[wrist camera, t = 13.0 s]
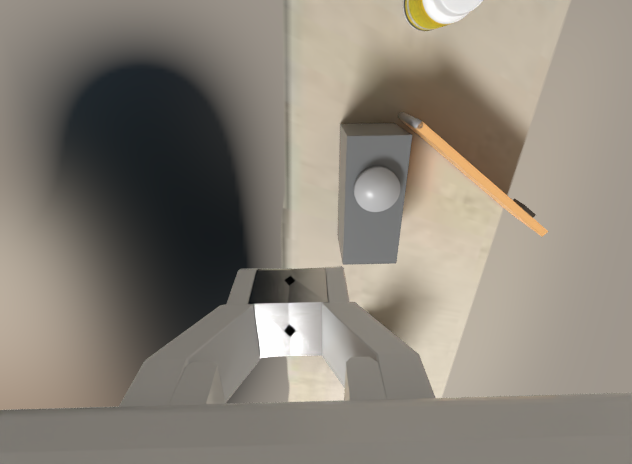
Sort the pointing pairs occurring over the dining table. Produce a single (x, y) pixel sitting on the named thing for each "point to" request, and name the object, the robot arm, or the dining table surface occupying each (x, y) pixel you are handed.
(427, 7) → the supplement bottle
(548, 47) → the dining table surface
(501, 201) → the side door
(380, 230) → the block
